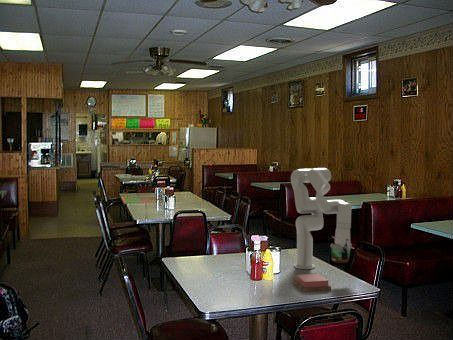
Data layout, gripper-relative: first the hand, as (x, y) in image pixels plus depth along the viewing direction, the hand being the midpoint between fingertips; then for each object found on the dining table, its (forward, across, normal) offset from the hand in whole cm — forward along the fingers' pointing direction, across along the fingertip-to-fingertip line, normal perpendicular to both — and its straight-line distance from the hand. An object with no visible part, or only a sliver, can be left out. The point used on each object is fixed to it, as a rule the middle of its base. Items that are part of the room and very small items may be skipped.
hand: (342, 257), depth 265 cm
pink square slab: (+12, +4, -19) cm, 23 cm away
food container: (+3, 0, 0) cm, 3 cm away
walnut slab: (+15, +4, -19) cm, 24 cm away
